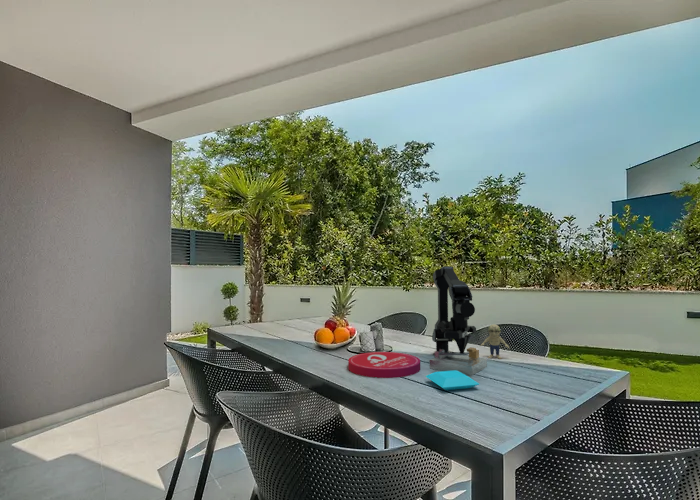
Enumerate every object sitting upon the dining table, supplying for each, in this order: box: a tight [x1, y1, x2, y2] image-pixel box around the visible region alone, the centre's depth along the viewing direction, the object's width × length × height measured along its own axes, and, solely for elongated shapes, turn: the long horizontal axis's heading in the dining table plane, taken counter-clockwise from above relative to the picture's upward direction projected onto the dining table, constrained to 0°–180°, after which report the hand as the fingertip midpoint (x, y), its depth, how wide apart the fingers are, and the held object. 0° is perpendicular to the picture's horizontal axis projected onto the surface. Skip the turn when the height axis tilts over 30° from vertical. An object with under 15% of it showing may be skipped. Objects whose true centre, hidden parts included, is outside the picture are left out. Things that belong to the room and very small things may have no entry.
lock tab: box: [466, 347, 480, 359], centre depth 169 cm, size 6×3×4 cm, turn 141°
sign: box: [347, 351, 421, 379], centre depth 170 cm, size 30×4×30 cm
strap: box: [440, 351, 469, 356], centre depth 167 cm, size 3×13×1 cm, turn 51°
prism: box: [425, 370, 480, 391], centre depth 145 cm, size 14×14×5 cm
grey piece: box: [429, 349, 488, 376], centre depth 169 cm, size 16×18×7 cm
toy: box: [480, 323, 510, 360], centre depth 186 cm, size 13×6×15 cm, turn 68°
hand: (461, 353), depth 165 cm, fingers closed, pressing on strap
